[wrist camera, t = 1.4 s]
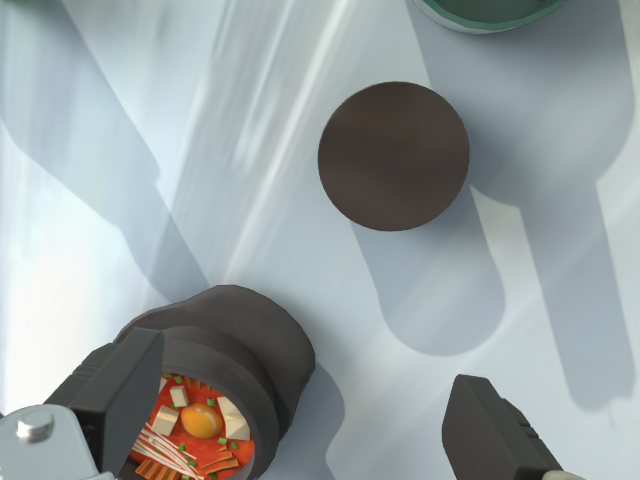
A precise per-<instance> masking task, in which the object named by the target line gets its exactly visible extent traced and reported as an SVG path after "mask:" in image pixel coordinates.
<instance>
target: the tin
mask: <svg viewBox="0 0 640 480" xmlns="http://www.w3.org/2000/svg"><path fill="white" fill-rule="evenodd" d="M412 1H413V3H414V4H415V5H416V7H418V8H419V9H420V10H421V11H422V12H423V13H424V14H425V15H426V16H428V17H429V18H430V19H432V20H433V21H434V22H436V23H438V24H440V25H442V26H444V27H446V28H449V29H452V30H454V31H458V32H464V33H470V34H489V33H495V32H501V31H507V30H511V29H514V28H517V27H521V26H524V25H526V24H529V23H531V22H533V21H535V20H538V19H540V18H542V17H544V16H547V15H549V14H551V13H552V12H554V11H555V10H556V9H558V8H559V7H560V6H562V5H563V4H564V3H566V2H567V1H568V0H412Z"/></svg>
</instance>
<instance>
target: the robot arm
mask: <svg viewBox="0 0 640 480" xmlns="http://www.w3.org/2000/svg"><path fill="white" fill-rule="evenodd" d="M164 341H165V335H164V332H163V331H158V330H151V329H144V328H137V327H135V328H133V329H132V330H131V332H130V333H129V334H128V335H127V336H126V338H125V339H124V340H123V341H122V342H121V343H120V344H115V343H108V344H106V345H104V346H102V347H100V348H98V349H96V350H94V351H92V352H91V353H90V354H89V355H88V356H87V357H86V358H85V360H84V361H83V362H82V363H81V365H79V366H78V367H77V368H76V369H75V370H74V371H73V373H72V375H69V377H68V378H67V379H66V380H65V381H64V382H63V383H62V384H61V385H60V386H59V387H58V388H57V389H56V390H55V391H54V392H53V394H52V395H51V396H50V397H49V398H48V399H47V400H46V401H45V402H44V403H43V404H42V405H34V406H29V407H25V408H22V409H19V410H16V411H14V412H12V413H10V414H8V415H7V416H5V417H4V418H2V419H1V420H0V480H115V479H116V477H117V475H118V473H119V472H120V470H121V468H122V466H123V464H124V462H125V461H126V459H127V457H128V455H129V453H130V451H131V449H132V448H133V446H134V444H135V442H136V440H137V438H138V436H139V435H140V433H141V431H142V429H143V427H144V425H145V423H146V422H147V420H148V418H149V416H150V414H151V412H152V411H153V409H154V406H155V404H156V401H157V398H158V394H159V389H160V383H161V373H162V362H163V352H164ZM442 443H443V447H444V449H445V452H446V454H447V457H448V459H449V462H450V464H451V466H452V469H453V471H454V474H455V476H456V478H457V480H586V479H584V478H582V477H580V476H577V475H575V474H572V473H569V472H565V471H564V470H563V469H562V467H561V466H560V465H559V463H558V462H557V460H556V459H555V458H554V456H553V455H552V454H551V452H550V451H549V449H548V448H547V447H546V445H545V444H544V443H543V441H542V440H541V439H539V436H538V434H537V433H536V432H535V430H534V429H533V428H532V427H530V423H529V422H528V421H527V419H526V418H525V417H524V415H523V414H522V413H521V411H520V410H518V409H517V408H516V407H515V406H513V405H512V404H511V403H510V402H508V401H507V400H506V399H503V398H501V397H500V396H499V394H498V393H497V391H496V390H495V389H494V387H493V386H492V384H491V383H490V381H489V380H488V379H487V378H483V377H476V376H469V375H462V374H459V375H457V376H456V378H455V380H454V383H453V387H452V390H451V394H450V398H449V402H448V405H447V409H446V413H445V416H444V420H443V424H442Z"/></svg>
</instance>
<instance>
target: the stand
mask: <svg viewBox="0 0 640 480" xmlns="http://www.w3.org/2000/svg"><path fill="white" fill-rule="evenodd" d="M468 165H469V142H468V137H467V133H466V130H465V128H464V125H463V123H462V121H461V119H460V117H459V116H458V114H457V112H456V111H455V110H454V109H453V107H452V106H451V105H450V104H449V103H448V102H447V101H446V100H445V99H444V98H443V97H441V96H440V95H438V94H437V93H435V92H434V91H432V90H430V89H428V88H426V87H423V86H420V85H417V84H413V83H408V82H397V81H393V82H383V83H379V84H374V85H372V86H369V87H366V88H364V89H362V90H360V91H358V92H356V93H355V94H353V95H352V96H350V97H349V98H348V99H346V100H345V101H344V102H343V103H342V104H341V105H340V106H339V107H338V108H337V109H336V111H335V112H334V113H333V114H332V116H331V117H330V119H329V120H328V122H327V124H326V126H325V128H324V130H323V133H322V136H321V139H320V143H319V149H318V170H319V175H320V179H321V182H322V185H323V188H324V190H325V192H326V194H327V196H328V197H329V199H330V200H331V202H332V203H333V204H334V205H335V207H336V208H337V209H338V210H339V211H340V212H341V213H342V214H344V215H345V216H346V217H347V218H349V219H350V220H352V221H353V222H355V223H357V224H359V225H361V226H364V227H367V228H370V229H374V230H379V231H389V232H390V231H403V230H408V229H412V228H415V227H418V226H421V225H423V224H425V223H427V222H429V221H431V220H432V219H434V218H435V217H437V216H438V215H439V214H441V213H442V212H443V211H444V210H445V209H446V208H447V207H448V206H449V205H450V204H451V203H452V202H453V200H454V199H455V198H456V196H457V194H458V193H459V191H460V190H461V187H462V185H463V183H464V181H465V178H466V174H467V171H468Z"/></svg>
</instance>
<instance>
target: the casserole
mask: <svg viewBox="0 0 640 480" xmlns="http://www.w3.org/2000/svg"><path fill="white" fill-rule="evenodd" d="M135 327H137V328H144V329H151V330H158V331H163V332H164V335H165V341H164V352H163V362H162V373H161V383H160V389H159V394H158V398H157V401H156V404H155V406H154V409H153V411H152V412H151V414H150V416H149V418H148V420H147V422H146V423H145V425H144V427H143V429H142V431H141V433H140V435H139V436H138V438H137V440H136V442H135V444H134V446H133V448H132V449H131V451H130V453H129V455H128V457H127V459H126V461H125V462H124V464H123V466H122V468H121V470H120V472H119V473H118V475H117V477H116V478H117V479H118V480H257V479H258V478H259V477H260V476H261V475H262V474H263V473H264V472H265V471H266V470H267V469H268V467H269V465H270V464H271V462H272V460H273V459H274V457H275V454H276V450H277V447H278V444H279V442H280V441H281V440H282V439H283V437H284V436H285V434H286V432H287V431H288V429H289V427H290V426H291V423H292V420H293V417H294V413H295V410H296V406H297V403H298V400H299V396H300V394H301V393H302V391H303V389H304V388H305V386H306V384H307V383H308V381H309V379H310V377H311V375H312V373H313V371H314V369H315V353H314V350H313V347H312V345H311V342H310V340H309V338H308V337H307V335H306V334H305V332H304V331H303V329H302V328H301V326H300V325H299V324H298V323H297V322H296V321H295V320H294V319H293V318H292V317H291V316H290V314H289V313H288V312H287V311H286V310H284V309H283V308H282V307H280V306H279V305H277V304H276V303H275V302H273V301H272V300H270V299H269V298H267V297H265V296H263V295H261V294H259V293H257V292H255V291H253V290H251V289H247V288H244V287H240V286H237V285H217V286H215V287H213V288H211V289H208V290H206V291H204V292H202V293H200V294H198V295H196V296H194V297H192V298H190V299H188V300H186V301H183V302H179V303H175V304H171V305H168V306H164V307H160V308H156V309H153V310H149V311H147V312H146V313H144V314H142V315H140V316H138V317H136V318H134V319H133V320H132V321H131V322H130V323H128V324H127V325H126V326H125V327H124V328H123V329H122V330H121V331H120V333H119V334H118V336H117V337H116V338H115V340H114V341H113V343H115V344H120V343H121V342H122V341H123V340H124V339H125V338H126V336H127V335H128V334H129V333H130V332H131V330H132V329H133V328H135Z"/></svg>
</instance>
